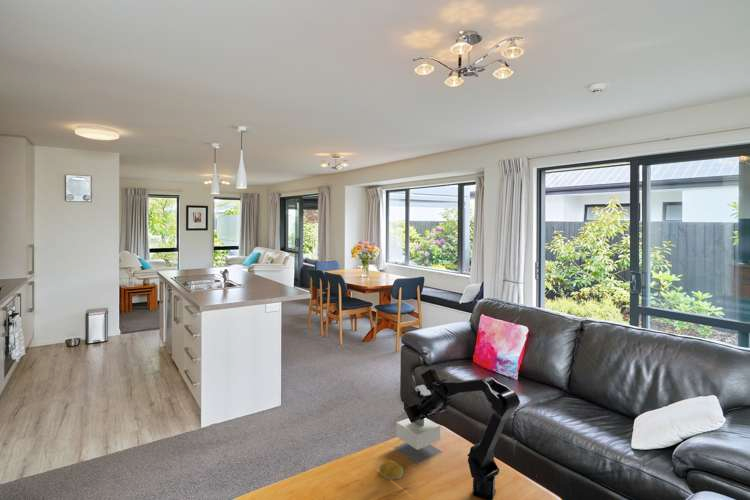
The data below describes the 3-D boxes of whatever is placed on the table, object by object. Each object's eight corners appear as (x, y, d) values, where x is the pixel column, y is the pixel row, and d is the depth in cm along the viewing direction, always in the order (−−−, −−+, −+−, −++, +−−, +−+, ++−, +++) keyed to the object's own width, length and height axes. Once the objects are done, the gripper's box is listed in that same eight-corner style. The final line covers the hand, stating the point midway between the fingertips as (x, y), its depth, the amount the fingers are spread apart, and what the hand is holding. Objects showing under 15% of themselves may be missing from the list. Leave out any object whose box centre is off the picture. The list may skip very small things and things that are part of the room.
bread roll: (392, 484, 144) (392, 473, 143) (375, 472, 150) (376, 462, 150) (408, 475, 149) (408, 464, 149) (392, 464, 156) (392, 454, 156)
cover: (440, 440, 164) (440, 412, 163) (417, 449, 156) (417, 421, 156) (418, 427, 174) (419, 402, 173) (396, 436, 166) (396, 409, 166)
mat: (442, 452, 164) (442, 451, 164) (416, 464, 156) (416, 463, 156) (418, 438, 175) (418, 437, 175) (393, 448, 167) (394, 447, 167)
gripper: (441, 376, 166) (423, 394, 176) (407, 386, 155) (389, 404, 165) (456, 401, 160) (435, 418, 170) (421, 413, 149) (402, 431, 159)
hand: (416, 417), depth 166 cm, fingers closed on cover
